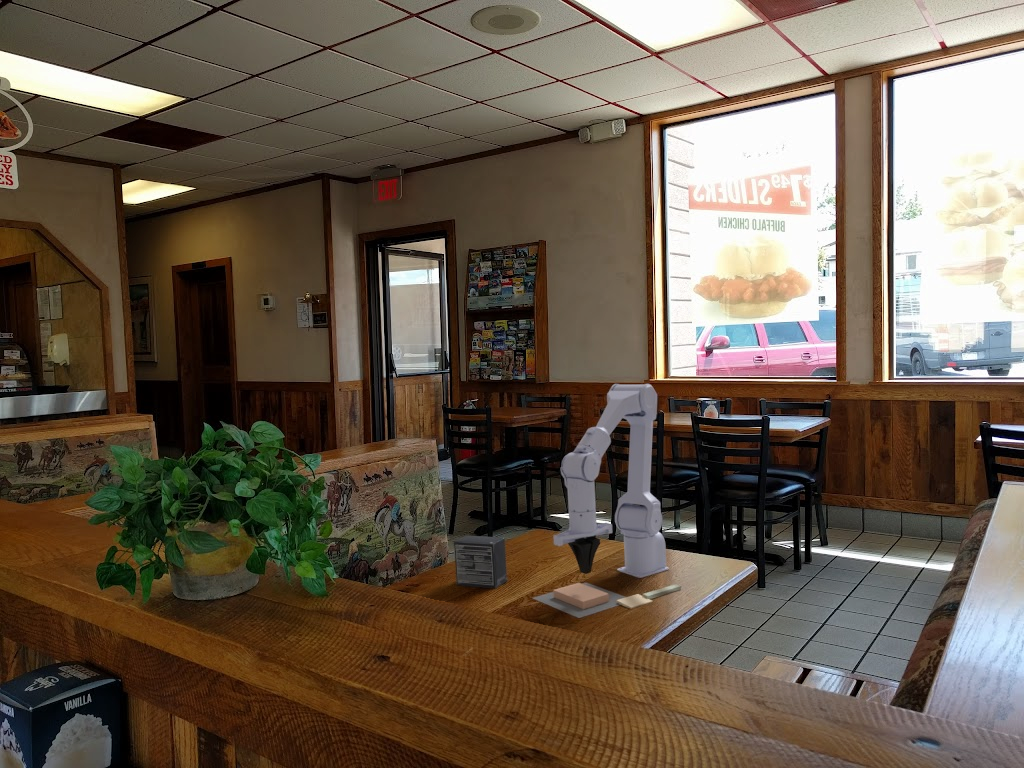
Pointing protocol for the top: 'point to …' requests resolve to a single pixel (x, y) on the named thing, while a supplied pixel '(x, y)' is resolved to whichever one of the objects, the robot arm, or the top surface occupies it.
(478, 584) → the small box
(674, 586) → the turner
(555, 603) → the mat
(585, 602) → the block
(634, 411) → the robot arm
